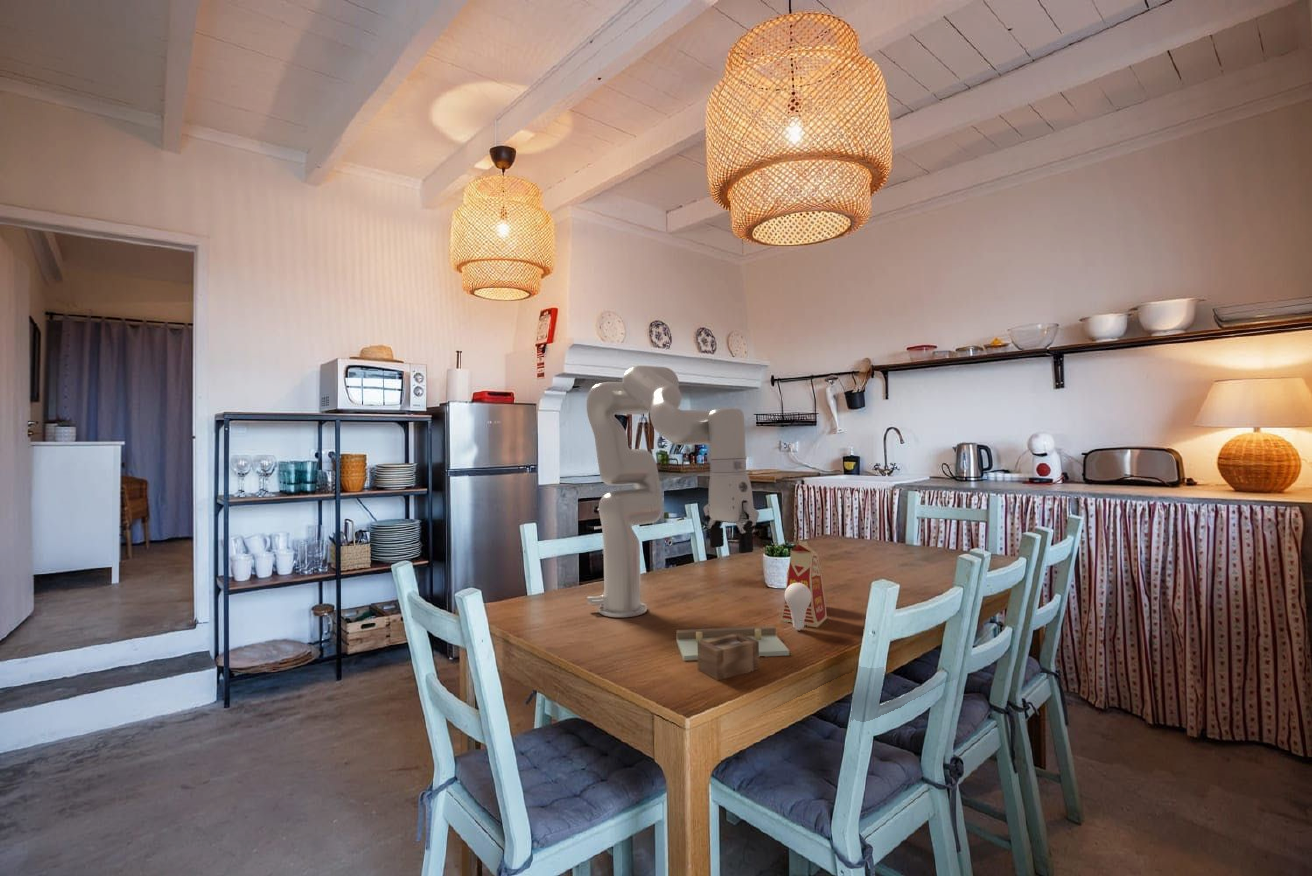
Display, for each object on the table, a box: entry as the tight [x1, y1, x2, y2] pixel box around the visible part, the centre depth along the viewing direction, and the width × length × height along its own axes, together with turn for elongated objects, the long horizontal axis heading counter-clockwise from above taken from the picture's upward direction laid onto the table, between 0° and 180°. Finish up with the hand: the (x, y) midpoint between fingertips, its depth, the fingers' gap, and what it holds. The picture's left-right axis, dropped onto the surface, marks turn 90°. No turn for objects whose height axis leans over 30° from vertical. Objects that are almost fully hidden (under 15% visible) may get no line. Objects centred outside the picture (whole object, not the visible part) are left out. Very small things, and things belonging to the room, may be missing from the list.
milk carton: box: [780, 539, 828, 628], centre depth 153 cm, size 9×9×20 cm
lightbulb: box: [784, 583, 812, 631], centre depth 145 cm, size 6×6×11 cm
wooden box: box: [697, 633, 760, 682], centre depth 122 cm, size 10×6×6 cm, turn 120°
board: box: [675, 625, 790, 662], centre depth 134 cm, size 22×12×3 cm, turn 95°
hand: (731, 549), depth 130 cm, fingers open, 9 cm apart
